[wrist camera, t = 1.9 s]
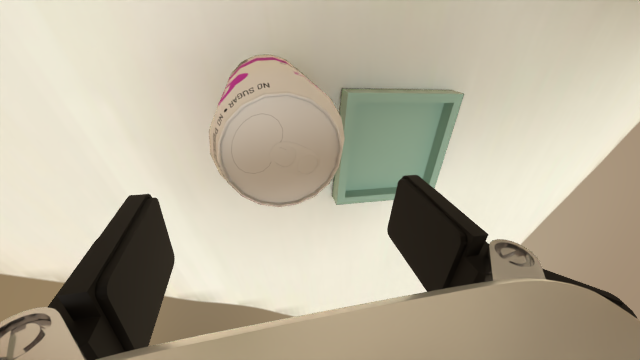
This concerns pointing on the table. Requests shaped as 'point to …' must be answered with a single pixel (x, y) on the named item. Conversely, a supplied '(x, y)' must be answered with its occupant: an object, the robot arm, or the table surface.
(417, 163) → the tray
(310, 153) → the supplement can
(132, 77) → the table surface
